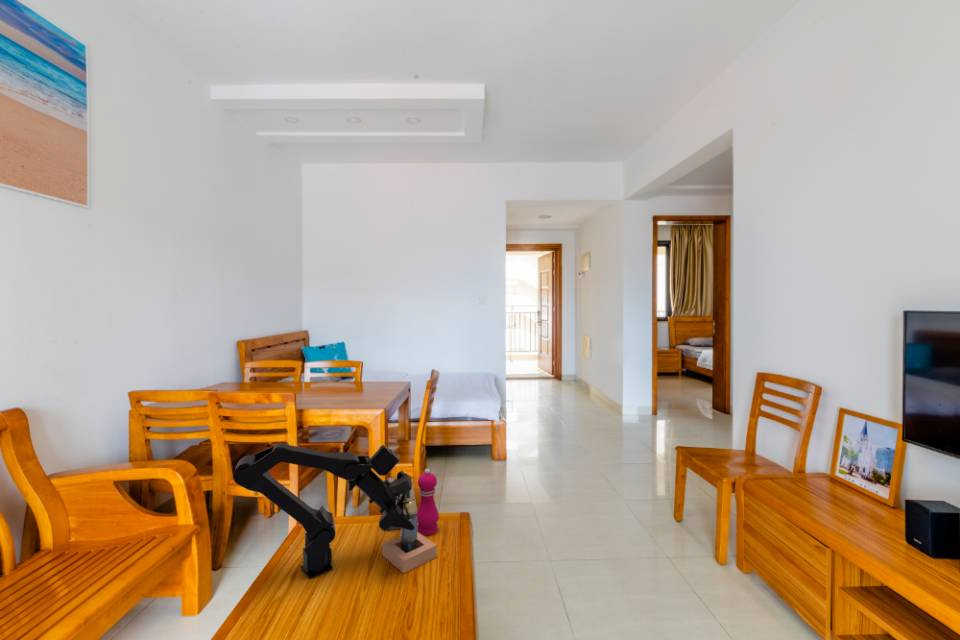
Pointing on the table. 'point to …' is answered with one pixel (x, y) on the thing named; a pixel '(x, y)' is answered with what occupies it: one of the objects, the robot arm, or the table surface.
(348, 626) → the table surface
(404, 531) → the tube
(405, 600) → the table surface
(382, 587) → the table surface
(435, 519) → the pepper mill
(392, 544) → the socket block
